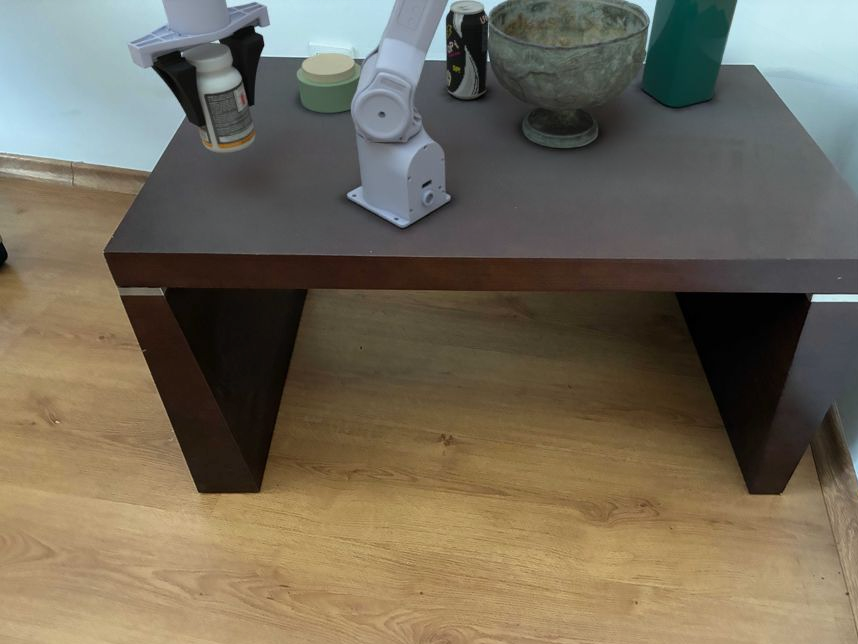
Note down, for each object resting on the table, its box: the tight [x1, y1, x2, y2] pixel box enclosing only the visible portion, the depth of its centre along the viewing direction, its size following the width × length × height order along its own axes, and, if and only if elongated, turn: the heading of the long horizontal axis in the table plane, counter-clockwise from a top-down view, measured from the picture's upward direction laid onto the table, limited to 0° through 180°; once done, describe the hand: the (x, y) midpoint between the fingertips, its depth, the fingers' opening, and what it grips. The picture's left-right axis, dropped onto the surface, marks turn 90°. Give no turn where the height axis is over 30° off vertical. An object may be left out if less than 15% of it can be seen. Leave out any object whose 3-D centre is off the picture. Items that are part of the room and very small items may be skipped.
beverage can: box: [445, 0, 489, 100], centre depth 98 cm, size 6×6×12 cm
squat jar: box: [296, 52, 361, 114], centre depth 99 cm, size 9×9×5 cm
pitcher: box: [640, 0, 739, 108], centre depth 94 cm, size 10×8×22 cm
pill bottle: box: [181, 42, 256, 154], centre depth 75 cm, size 6×6×10 cm
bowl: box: [487, 0, 651, 149], centre depth 90 cm, size 20×19×15 cm
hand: (222, 112), depth 76 cm, fingers closed on pill bottle, 5 cm apart
